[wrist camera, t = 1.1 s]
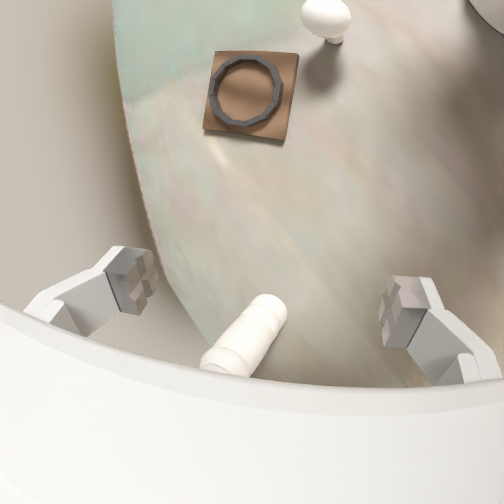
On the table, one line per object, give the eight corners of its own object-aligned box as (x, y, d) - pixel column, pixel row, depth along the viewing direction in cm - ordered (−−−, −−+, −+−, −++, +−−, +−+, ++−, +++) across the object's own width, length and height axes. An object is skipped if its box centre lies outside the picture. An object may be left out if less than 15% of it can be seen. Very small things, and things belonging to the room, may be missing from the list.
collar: (220, 57, 39) (215, 54, 38) (288, 59, 35) (285, 56, 34) (209, 122, 44) (204, 121, 42) (276, 131, 40) (272, 130, 39)
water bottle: (247, 294, 53) (161, 381, 31) (282, 290, 49) (207, 388, 28) (258, 327, 54) (185, 421, 32) (292, 325, 51) (229, 430, 29)
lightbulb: (306, 40, 34) (283, 10, 25) (331, 15, 31) (315, -20, 22) (338, 63, 34) (326, 35, 24) (364, 37, 31) (358, 3, 21)
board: (218, 53, 40) (215, 51, 39) (299, 56, 36) (297, 53, 35) (206, 128, 46) (202, 128, 44) (285, 140, 41) (282, 140, 40)
